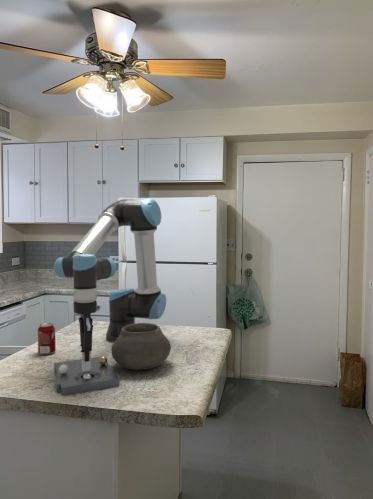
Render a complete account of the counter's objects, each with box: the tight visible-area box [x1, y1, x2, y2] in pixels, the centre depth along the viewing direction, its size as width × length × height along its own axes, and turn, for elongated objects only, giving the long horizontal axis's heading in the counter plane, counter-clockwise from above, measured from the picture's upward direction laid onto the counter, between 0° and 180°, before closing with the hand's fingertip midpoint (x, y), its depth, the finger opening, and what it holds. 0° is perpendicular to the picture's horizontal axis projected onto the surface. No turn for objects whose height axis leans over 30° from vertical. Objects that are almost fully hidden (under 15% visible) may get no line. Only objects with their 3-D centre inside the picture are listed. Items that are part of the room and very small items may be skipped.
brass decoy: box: [99, 355, 108, 365], centre depth 139 cm, size 3×3×3 cm
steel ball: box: [82, 373, 92, 379], centre depth 128 cm, size 3×3×3 cm
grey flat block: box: [53, 356, 121, 397], centre depth 133 cm, size 24×20×2 cm
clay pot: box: [110, 322, 172, 371], centre depth 143 cm, size 22×21×15 cm
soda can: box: [37, 322, 56, 356], centre depth 159 cm, size 7×7×12 cm
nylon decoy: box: [59, 364, 68, 374], centre depth 130 cm, size 3×3×3 cm
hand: (86, 369), depth 130 cm, fingers closed
